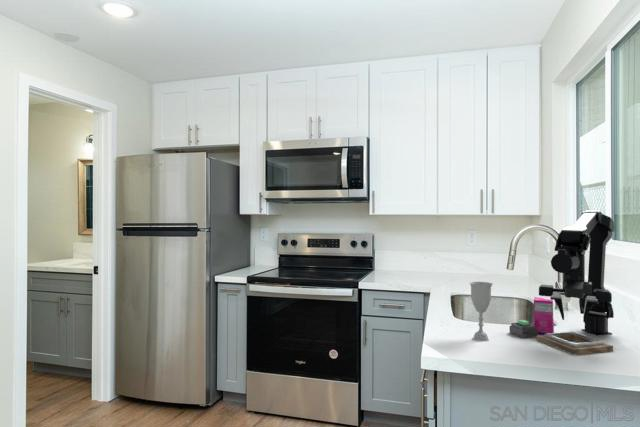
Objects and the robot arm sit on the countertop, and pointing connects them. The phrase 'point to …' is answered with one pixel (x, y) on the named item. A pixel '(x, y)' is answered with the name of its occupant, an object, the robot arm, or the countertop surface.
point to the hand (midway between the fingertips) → (573, 320)
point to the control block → (523, 330)
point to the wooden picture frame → (584, 347)
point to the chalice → (481, 305)
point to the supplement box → (543, 315)
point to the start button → (523, 322)
